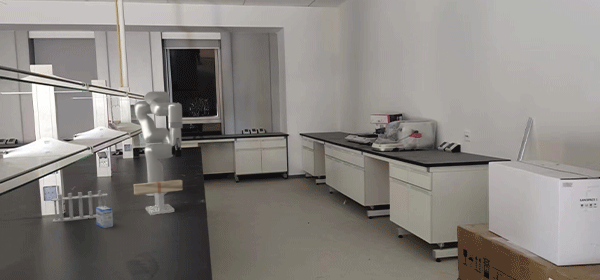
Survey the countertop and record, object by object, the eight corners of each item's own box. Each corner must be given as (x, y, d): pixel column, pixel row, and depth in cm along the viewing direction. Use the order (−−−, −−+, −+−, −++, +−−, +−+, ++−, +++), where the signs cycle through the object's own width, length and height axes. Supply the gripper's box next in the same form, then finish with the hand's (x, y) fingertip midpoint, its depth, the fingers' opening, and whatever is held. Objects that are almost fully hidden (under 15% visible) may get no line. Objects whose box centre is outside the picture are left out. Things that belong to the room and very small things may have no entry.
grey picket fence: (52, 222, 212) (50, 195, 211) (53, 220, 216) (51, 194, 215) (108, 216, 221) (107, 190, 220) (108, 214, 225) (107, 189, 224)
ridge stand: (145, 209, 234) (144, 191, 233) (168, 206, 240) (167, 188, 239) (150, 215, 222) (149, 195, 221) (174, 211, 227) (173, 192, 227)
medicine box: (96, 225, 204) (95, 207, 204) (106, 223, 208) (104, 205, 207) (103, 228, 199) (102, 209, 198) (113, 226, 202) (112, 208, 201)
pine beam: (134, 194, 226) (133, 184, 226) (180, 188, 237) (180, 179, 237) (135, 195, 222) (134, 185, 222) (182, 190, 234) (182, 180, 233)
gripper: (165, 124, 250) (166, 154, 252) (171, 126, 235) (172, 158, 237) (178, 124, 254) (179, 153, 256) (185, 126, 239) (186, 157, 240)
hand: (176, 155), depth 246 cm, fingers open, 9 cm apart
